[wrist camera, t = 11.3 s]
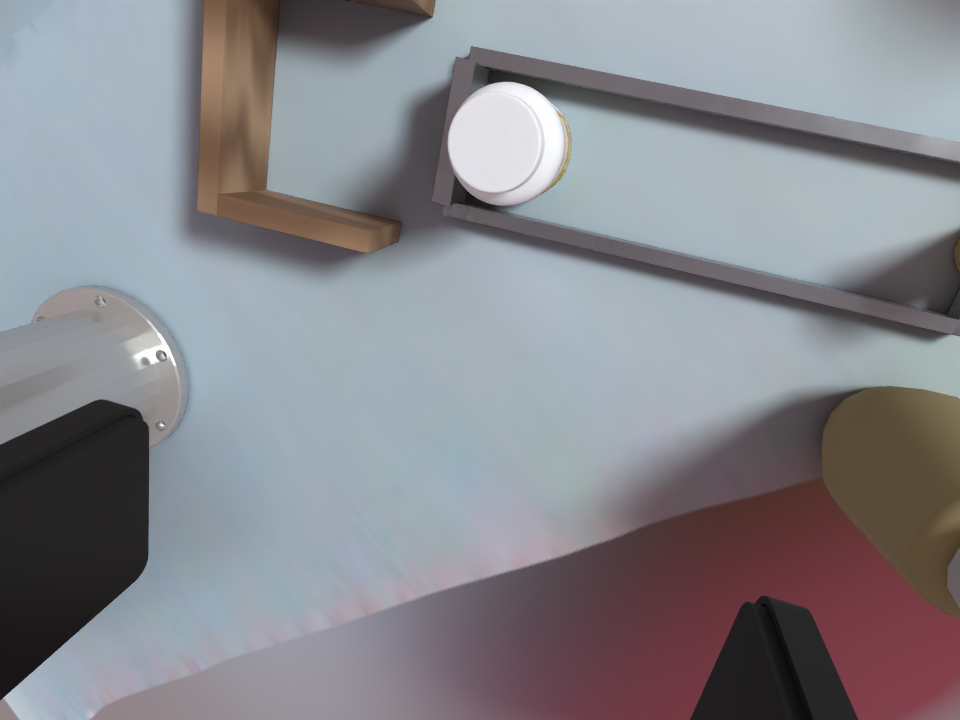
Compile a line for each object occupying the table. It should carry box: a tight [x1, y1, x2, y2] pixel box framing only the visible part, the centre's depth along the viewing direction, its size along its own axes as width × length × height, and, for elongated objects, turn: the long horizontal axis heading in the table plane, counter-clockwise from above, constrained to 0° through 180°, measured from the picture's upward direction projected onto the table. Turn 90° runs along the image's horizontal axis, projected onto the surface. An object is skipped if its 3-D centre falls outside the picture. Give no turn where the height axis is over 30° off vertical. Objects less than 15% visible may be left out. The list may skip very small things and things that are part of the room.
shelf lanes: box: [197, 0, 435, 253], centre depth 32 cm, size 21×10×5 cm, turn 169°
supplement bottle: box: [447, 82, 572, 206], centre depth 29 cm, size 5×5×10 cm
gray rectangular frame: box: [432, 46, 960, 336], centre depth 29 cm, size 9×30×7 cm, turn 79°
